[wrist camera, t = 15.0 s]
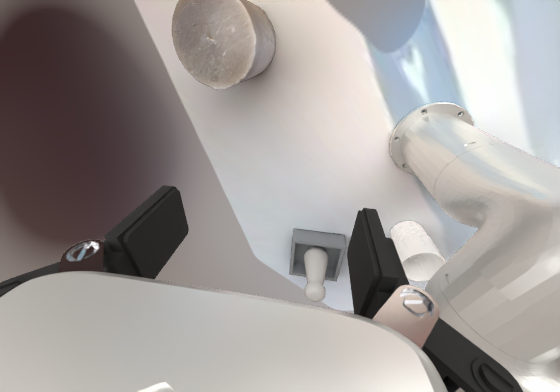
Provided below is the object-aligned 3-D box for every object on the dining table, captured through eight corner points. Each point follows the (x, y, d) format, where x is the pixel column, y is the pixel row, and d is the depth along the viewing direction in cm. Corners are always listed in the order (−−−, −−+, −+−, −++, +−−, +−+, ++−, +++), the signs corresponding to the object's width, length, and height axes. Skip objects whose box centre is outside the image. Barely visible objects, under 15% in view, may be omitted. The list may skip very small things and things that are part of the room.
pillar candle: (209, 11, 35) (147, -7, 23) (270, -5, 33) (239, -35, 20) (227, 81, 40) (184, 97, 28) (281, 71, 38) (261, 84, 26)
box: (344, 234, 54) (345, 246, 51) (335, 268, 61) (336, 281, 57) (293, 228, 55) (292, 239, 52) (290, 262, 62) (289, 274, 59)
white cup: (431, 220, 48) (454, 255, 40) (418, 247, 53) (436, 284, 44) (392, 216, 49) (407, 249, 41) (382, 242, 54) (394, 278, 45)
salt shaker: (327, 259, 58) (329, 307, 48) (305, 258, 60) (301, 305, 49) (327, 242, 55) (328, 289, 45) (303, 242, 56) (299, 287, 46)
